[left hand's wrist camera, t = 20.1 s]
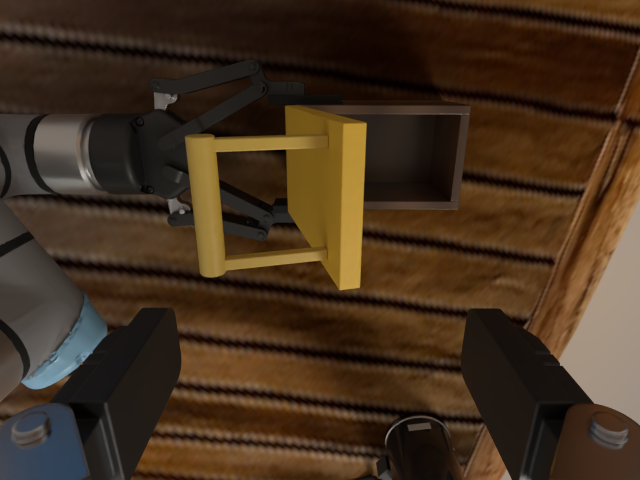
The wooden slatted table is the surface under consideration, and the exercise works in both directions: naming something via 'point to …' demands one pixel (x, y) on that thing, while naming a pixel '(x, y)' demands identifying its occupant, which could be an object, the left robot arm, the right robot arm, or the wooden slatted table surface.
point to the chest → (409, 151)
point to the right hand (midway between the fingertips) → (340, 154)
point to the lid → (291, 193)
